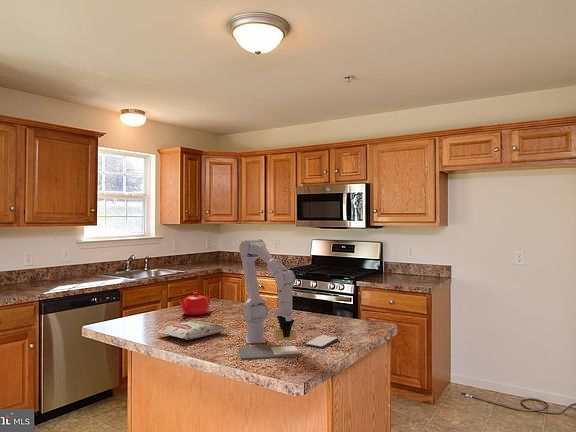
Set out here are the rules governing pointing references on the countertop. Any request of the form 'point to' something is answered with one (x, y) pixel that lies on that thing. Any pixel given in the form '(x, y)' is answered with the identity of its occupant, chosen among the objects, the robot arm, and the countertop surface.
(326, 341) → the phone case
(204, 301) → the teapot
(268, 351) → the mat
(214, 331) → the frozen beans
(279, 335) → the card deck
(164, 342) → the countertop surface
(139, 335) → the countertop surface
